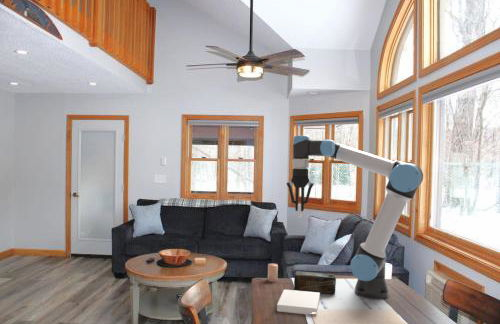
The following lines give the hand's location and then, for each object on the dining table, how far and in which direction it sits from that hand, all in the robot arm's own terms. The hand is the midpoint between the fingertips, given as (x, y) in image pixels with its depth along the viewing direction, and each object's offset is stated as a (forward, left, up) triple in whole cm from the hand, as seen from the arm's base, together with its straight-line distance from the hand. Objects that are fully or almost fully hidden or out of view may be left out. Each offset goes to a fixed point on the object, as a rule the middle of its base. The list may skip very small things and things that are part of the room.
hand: (299, 217), depth 196 cm
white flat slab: (-3, +21, -34) cm, 40 cm away
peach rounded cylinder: (+14, -11, -34) cm, 39 cm away
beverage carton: (+1, 0, -35) cm, 35 cm away
